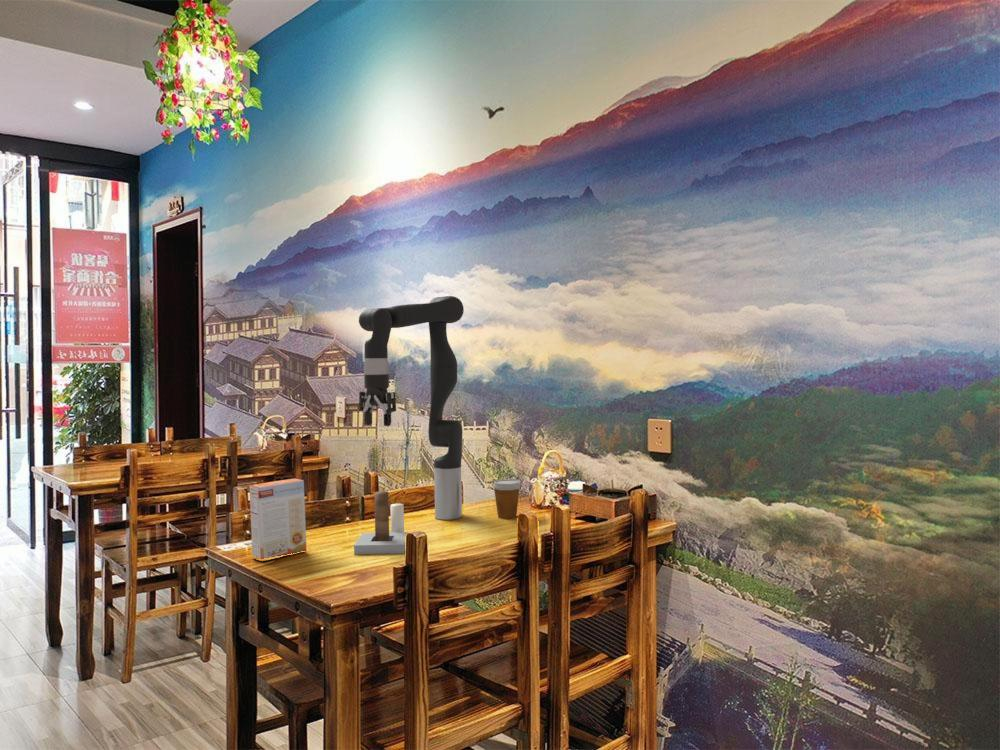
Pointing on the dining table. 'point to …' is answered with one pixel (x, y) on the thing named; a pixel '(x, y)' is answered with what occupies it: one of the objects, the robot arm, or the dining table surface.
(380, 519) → the walnut dowel
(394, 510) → the cream rod
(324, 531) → the dining table surface
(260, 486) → the cracker box
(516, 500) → the disposable coffee cup
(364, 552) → the board
